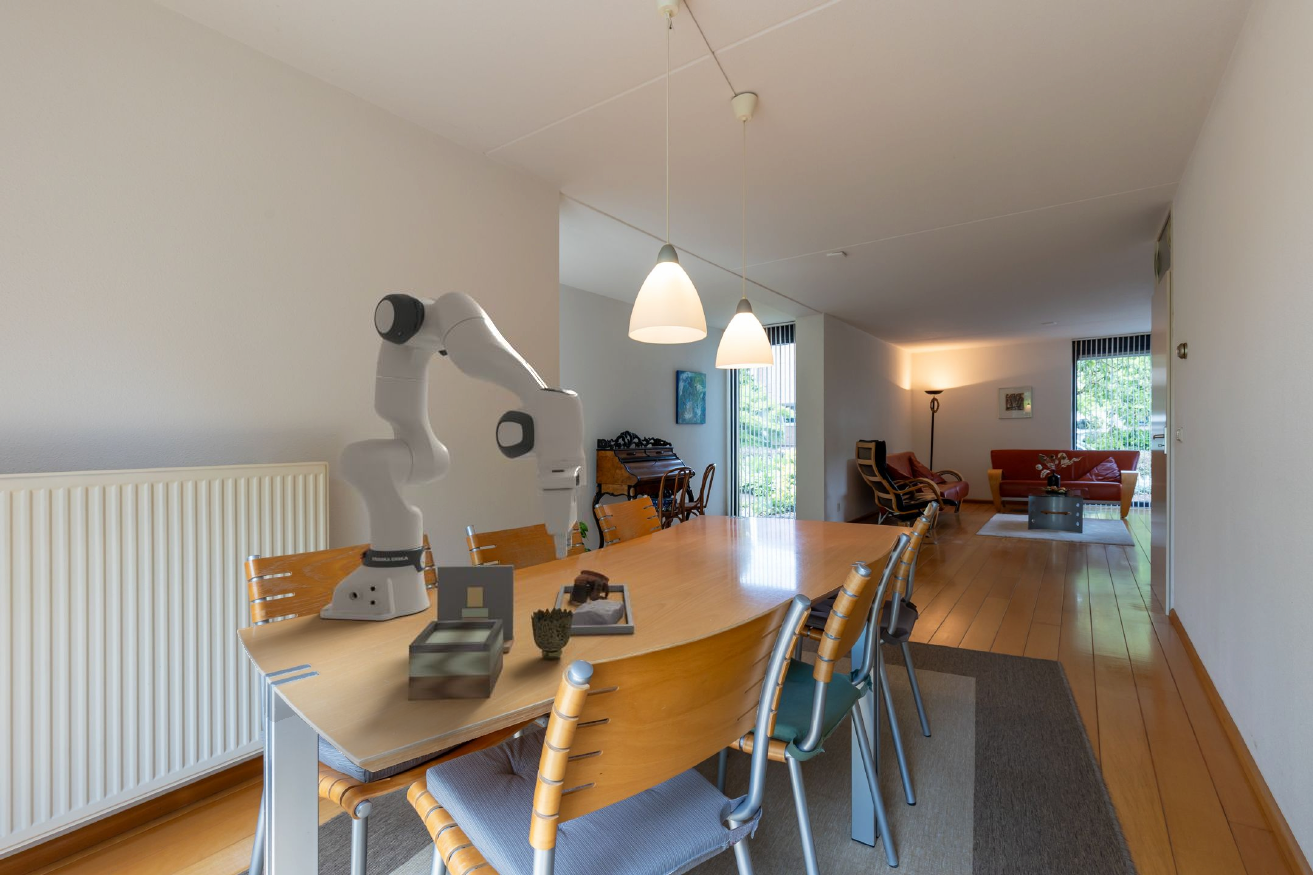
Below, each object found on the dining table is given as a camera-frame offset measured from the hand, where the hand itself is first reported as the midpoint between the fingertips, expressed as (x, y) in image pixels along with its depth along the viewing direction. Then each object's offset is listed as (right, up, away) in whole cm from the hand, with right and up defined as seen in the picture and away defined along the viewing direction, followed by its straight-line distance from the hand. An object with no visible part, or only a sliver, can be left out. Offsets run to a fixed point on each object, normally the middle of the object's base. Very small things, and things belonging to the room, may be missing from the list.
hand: (564, 553), depth 108 cm
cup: (-2, -19, 0) cm, 19 cm away
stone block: (+3, -19, +21) cm, 29 cm away
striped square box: (-15, -19, -11) cm, 27 cm away
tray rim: (+2, -19, +30) cm, 35 cm away
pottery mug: (+1, -19, +37) cm, 42 cm away
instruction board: (-18, -19, +5) cm, 26 cm away
